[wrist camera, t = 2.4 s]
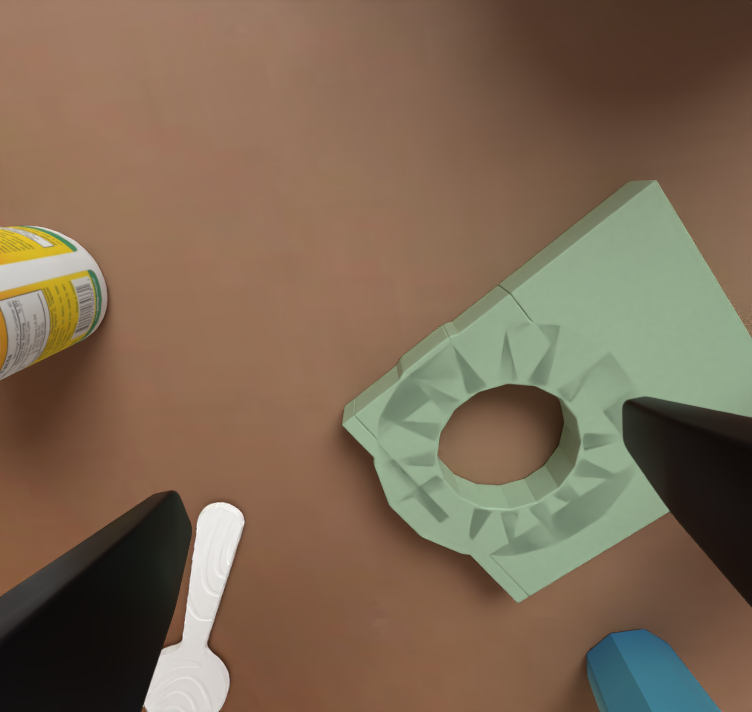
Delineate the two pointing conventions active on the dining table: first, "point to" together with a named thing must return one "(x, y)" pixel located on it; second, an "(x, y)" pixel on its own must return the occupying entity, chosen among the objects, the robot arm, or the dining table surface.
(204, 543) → the spoon
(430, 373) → the holder plate
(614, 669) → the cup
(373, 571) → the dining table surface
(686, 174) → the dining table surface
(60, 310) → the supplement bottle
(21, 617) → the robot arm
